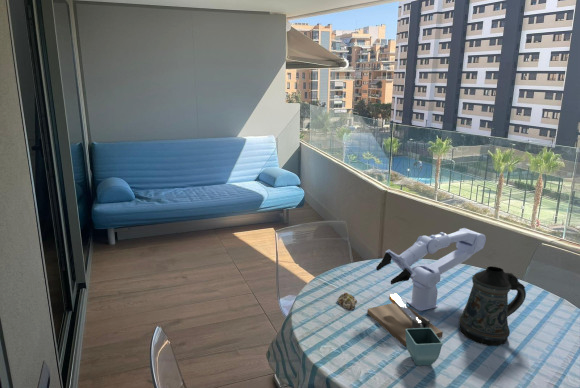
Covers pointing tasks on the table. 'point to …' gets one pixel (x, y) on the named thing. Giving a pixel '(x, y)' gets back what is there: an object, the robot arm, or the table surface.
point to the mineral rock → (347, 301)
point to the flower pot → (423, 345)
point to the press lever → (404, 308)
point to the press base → (399, 321)
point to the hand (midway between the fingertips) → (384, 275)
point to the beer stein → (490, 306)
